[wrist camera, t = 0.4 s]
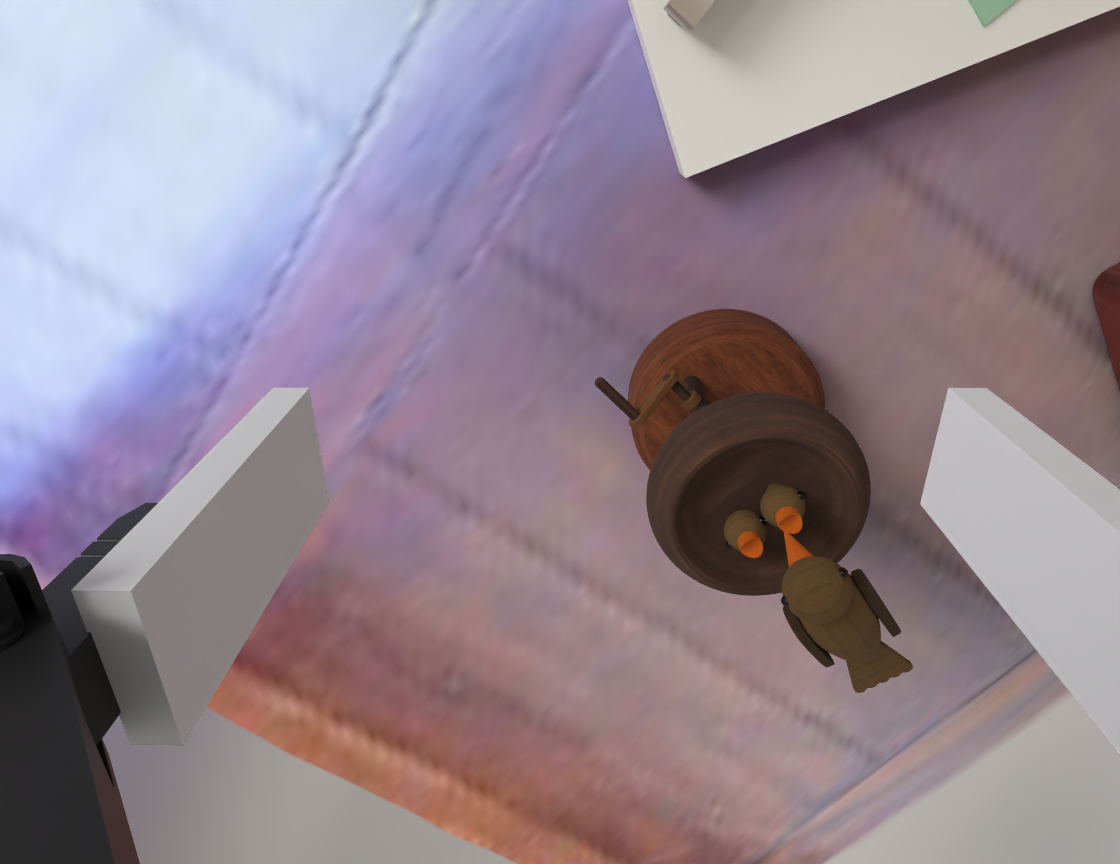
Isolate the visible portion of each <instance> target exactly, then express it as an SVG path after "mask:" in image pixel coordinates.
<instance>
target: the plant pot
mask: <svg viewBox="0 0 1120 864" xmlns="http://www.w3.org/2000/svg"><path fill="white" fill-rule="evenodd" d="M1093 297H1094V301H1095V305H1096V308H1097V312H1098V315H1099V319H1100V322H1101V326H1102V330H1103V333H1104V337H1105V340H1106V344H1107V347H1108V350H1109V354H1110V357H1111V361H1112V364H1113V368H1114V371H1115V375H1116V378H1117V382H1118V385H1119V389H1120V263H1118V264H1116V265H1114V266H1112V267H1110V268H1109V269H1107V270H1105V271H1104V272H1102V273H1101V274H1100V276H1099V277H1098V278H1097V279H1096V281H1095V284H1094V287H1093Z"/></svg>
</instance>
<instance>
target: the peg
mask: <svg viewBox="0 0 1120 864" xmlns="http://www.w3.org/2000/svg"><path fill="white" fill-rule="evenodd" d="M714 2H715V0H669V2H668V3H667V4H666V6H665V7H664V8H663V9H664V10H665V11H666V12H667V13H668V14H669V15H670V16H671V17H672V18H673V19H674V20H675V21H677V22H678V23H679V24H680V25H681V26H682V27H683V28H684V29H685V30H686V31H689V30H691V29H693V28H694V27H695V26H696V25H697V24H698V22H699V21H700V20H701V18H702V17H703V16H704V14H705V13H706V12H707V11H708V9H709V8H710V7H711V5H712V4H713V3H714Z"/></svg>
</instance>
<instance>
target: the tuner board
mask: <svg viewBox="0 0 1120 864" xmlns="http://www.w3.org/2000/svg"><path fill="white" fill-rule="evenodd" d="M627 1H628V5H629V8H630V11H631V14H632V18H633V21H634V24H635V28H636V31H637V34H638V38H639V41H640V44H641V47H642V51H643V54H644V57H645V61H646V64H647V67H648V71H649V74H650V77H651V80H652V84H653V87H654V90H655V94H656V97H657V100H658V104H659V107H660V110H661V113H662V117H663V120H664V123H665V127H666V130H667V133H668V137H669V140H670V143H671V146H672V150H673V153H674V156H675V160H676V163H677V166H678V170H679V173H680V174H681V175H683V176H684V177H685V178H687V177H689V176H692V175H694V174H697V173H700V172H702V171H705V170H707V169H710V168H712V167H715V166H717V165H720V164H722V163H725V162H727V161H730V160H732V159H735V158H737V157H740V156H743V155H745V154H748V153H750V152H753V151H755V150H758V149H760V148H763V147H765V146H768V145H770V144H773V143H775V142H778V141H781V140H783V139H786V138H788V137H791V136H793V135H796V134H798V133H801V132H803V131H806V130H808V129H811V128H813V127H816V126H818V125H821V124H824V123H826V122H829V121H831V120H834V119H836V118H839V117H841V116H844V115H846V114H849V113H851V112H854V111H856V110H859V109H862V108H864V107H867V106H869V105H872V104H874V103H877V102H879V101H882V100H884V99H887V98H889V97H892V96H894V95H897V94H899V93H902V92H905V91H907V90H910V89H912V88H915V87H917V86H920V85H922V84H925V83H927V82H930V81H932V80H935V79H937V78H940V77H943V76H945V75H948V74H950V73H953V72H955V71H958V70H960V69H963V68H965V67H968V66H970V65H973V64H975V63H978V62H980V61H983V60H986V59H988V58H991V57H993V56H996V55H998V54H1001V53H1003V52H1006V51H1008V50H1011V49H1013V48H1016V47H1018V46H1021V45H1024V44H1026V43H1029V42H1031V41H1034V40H1036V39H1039V38H1041V37H1044V36H1046V35H1049V34H1051V33H1054V32H1056V31H1059V30H1062V29H1064V28H1067V27H1069V26H1072V25H1074V24H1077V23H1079V22H1082V21H1084V20H1087V19H1089V18H1092V17H1094V16H1097V15H1099V14H1102V13H1105V12H1107V11H1110V10H1112V9H1115V8H1117V7H1120V0H715V2H714V3H713V4H712V5H711V7H710V8H709V9H708V11H707V12H706V13H705V14H704V16H703V17H702V18H701V20H700V21H699V22H698V24H697V25H696V26H695V27H694V28H693V29H691V30H689V31H686V30H685V29H684V28H683V27H682V26H681V25H680V24H679V23H678V22H677V21H675V20H674V19H673V18H672V17H671V16H670V15H669V14H668V13H667V12H666V11H665V10H664V9H663V8H664V7H665V6H666V4H667V3H668V2H669V0H627Z"/></svg>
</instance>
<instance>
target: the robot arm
mask: <svg viewBox="0 0 1120 864" xmlns="http://www.w3.org/2000/svg"><path fill="white" fill-rule="evenodd" d="M328 503H329V496H328V491H327V485H326V479H325V474H324V468H323V463H322V457H321V451H320V446H319V440H318V434H317V429H316V423H315V417H314V412H313V406H312V400H311V395H310V389H309V388H272V389H271V390H270V391H269V392H268V393H267V394H266V395H265V396H264V397H263V398H262V399H261V400H260V401H259V402H258V403H257V405H256V406H255V407H254V408H253V409H252V410H251V411H250V412H249V413H248V414H247V415H246V416H245V417H244V418H243V419H242V420H241V421H240V422H239V423H238V424H237V425H236V426H235V427H234V428H233V429H232V430H231V431H230V432H229V433H228V434H227V435H226V436H225V437H224V438H223V439H222V440H221V441H220V442H219V443H218V444H217V445H216V446H215V447H214V448H213V449H212V450H211V451H210V452H209V453H208V454H207V455H206V456H205V457H204V458H203V459H202V460H201V461H200V462H199V463H198V464H197V465H196V466H195V467H194V468H193V469H192V470H191V471H190V472H189V473H188V474H187V475H186V476H185V477H184V478H183V479H182V480H181V481H180V482H179V483H178V484H177V485H176V486H175V487H174V488H173V489H172V490H171V491H170V492H169V493H168V494H167V495H166V496H165V497H164V498H163V499H162V500H161V501H160V502H159V503H145V504H143V505H141V506H140V507H138V508H136V509H134V510H133V511H131V512H129V513H127V514H125V515H124V516H122V517H120V518H118V519H117V520H116V521H115V522H114V523H113V524H112V525H111V526H109V527H108V528H107V529H106V530H105V531H104V532H103V533H102V534H101V535H100V536H99V537H98V538H97V542H93V543H92V544H90V545H89V546H88V547H87V548H86V549H85V550H84V551H83V552H82V553H81V557H80V558H76V559H75V560H74V561H73V562H72V563H70V564H69V565H68V566H67V567H66V568H65V569H64V570H63V571H62V572H61V573H60V574H59V575H58V576H57V577H56V578H55V579H54V580H53V581H51V582H50V583H49V584H48V585H47V586H46V587H45V588H44V589H43V590H41V587H40V585H39V582H38V580H37V577H36V575H35V572H34V570H33V568H32V565H31V564H30V563H29V562H28V560H27V559H26V558H25V557H21V556H17V555H12V554H1V555H0V864H140V863H139V859H138V856H137V852H136V849H135V845H134V842H133V838H132V835H131V831H130V828H129V824H128V821H127V817H126V814H125V810H124V807H123V803H122V799H121V796H120V792H119V789H118V785H117V782H116V778H115V775H114V771H113V768H112V765H111V761H110V757H109V754H108V752H107V749H106V747H105V744H104V742H103V740H102V738H103V736H104V735H105V734H106V732H107V731H108V730H109V728H110V727H111V725H112V724H113V723H114V721H115V720H116V718H117V717H118V716H120V718H121V721H122V724H123V726H124V729H125V731H126V734H127V737H128V739H129V741H130V744H131V745H179V746H183V745H184V743H185V742H186V740H187V739H188V737H189V735H190V734H191V732H192V730H193V729H194V727H195V725H196V723H197V722H198V720H199V718H200V717H201V715H202V713H203V712H204V710H205V708H206V707H207V705H208V704H209V702H210V700H211V698H212V697H213V695H214V693H215V692H216V690H217V688H218V687H219V685H220V683H221V682H222V680H223V678H224V677H225V675H226V673H227V672H228V670H229V668H230V667H231V665H232V663H233V662H234V660H235V658H236V657H237V655H238V653H239V652H240V650H241V648H242V647H243V645H244V643H245V642H246V640H247V638H248V637H249V635H250V633H251V632H252V630H253V628H254V626H255V625H256V623H257V621H258V620H259V618H260V616H261V615H262V613H263V611H264V610H265V608H266V606H267V605H268V603H269V601H270V600H271V598H272V596H273V595H274V593H275V591H276V590H277V588H278V586H279V585H280V583H281V581H282V580H283V578H284V576H285V575H286V573H287V571H288V570H289V568H290V566H291V565H292V563H293V561H294V559H295V558H296V556H297V554H298V553H299V551H300V549H301V548H302V546H303V544H304V543H305V541H306V539H307V538H308V536H309V534H310V533H311V531H312V529H313V528H314V526H315V524H316V523H317V521H318V519H319V518H320V516H321V514H322V513H323V511H324V509H325V508H326V506H327V504H328ZM920 504H921V506H922V507H923V508H924V509H925V511H926V512H927V513H928V514H929V516H930V517H931V518H932V519H933V521H934V522H935V523H936V525H937V526H938V527H939V528H940V530H941V531H942V532H943V533H944V535H945V536H946V537H947V538H948V540H949V541H950V542H951V543H952V545H953V546H954V547H955V548H956V550H957V551H958V552H959V553H960V555H961V556H962V557H963V558H964V560H965V561H966V562H967V563H968V565H969V566H970V567H971V568H972V570H973V571H974V572H975V574H976V575H977V576H978V577H979V579H980V580H981V581H982V582H983V584H984V585H985V586H986V587H987V589H988V590H989V591H990V592H991V594H992V595H993V596H994V597H995V599H996V600H997V601H998V602H999V604H1000V605H1001V606H1002V607H1003V609H1004V610H1005V611H1006V612H1007V614H1008V615H1009V616H1010V617H1011V619H1012V620H1013V621H1014V623H1015V624H1016V625H1017V626H1018V628H1019V629H1020V630H1021V631H1022V633H1023V634H1024V635H1025V636H1026V638H1027V639H1028V640H1029V641H1030V643H1031V644H1032V645H1033V646H1034V648H1035V649H1036V650H1037V651H1038V653H1039V654H1040V655H1041V656H1042V658H1043V659H1044V660H1045V661H1046V663H1047V664H1048V665H1049V666H1050V668H1051V669H1052V670H1053V671H1054V673H1055V674H1056V675H1057V677H1058V678H1059V679H1060V680H1061V682H1062V683H1063V684H1064V685H1065V687H1066V688H1067V689H1068V690H1069V692H1070V693H1071V694H1072V695H1073V697H1074V698H1075V699H1076V700H1077V702H1078V703H1079V704H1080V705H1081V707H1082V708H1083V709H1084V710H1085V712H1086V713H1087V714H1088V715H1089V717H1090V718H1091V719H1092V720H1093V722H1094V723H1095V724H1096V725H1097V727H1098V728H1099V729H1100V731H1101V732H1102V733H1103V734H1104V736H1105V737H1106V738H1107V739H1108V740H1109V742H1110V743H1111V744H1112V746H1113V747H1114V748H1115V749H1116V751H1117V752H1118V753H1119V754H1120V489H1118V488H1117V487H1116V486H1114V485H1113V484H1112V483H1110V482H1109V481H1108V480H1106V479H1105V478H1104V477H1103V476H1101V475H1100V474H1099V473H1097V472H1096V471H1095V470H1093V469H1092V468H1091V467H1089V466H1088V465H1087V464H1086V463H1084V462H1083V461H1082V460H1080V459H1079V458H1078V457H1076V456H1075V455H1074V454H1072V453H1071V452H1070V451H1068V450H1067V449H1066V448H1065V447H1063V446H1062V445H1061V444H1059V443H1058V442H1057V441H1055V440H1054V439H1053V438H1051V437H1050V436H1049V435H1048V434H1046V433H1045V432H1044V431H1042V430H1041V429H1040V428H1038V427H1037V426H1036V425H1034V424H1033V423H1032V422H1031V421H1029V420H1028V419H1027V418H1025V417H1024V416H1023V415H1021V414H1020V413H1019V412H1017V411H1016V410H1015V409H1013V408H1012V407H1011V406H1010V405H1008V404H1007V403H1006V402H1004V401H1003V400H1002V399H1000V398H999V397H998V396H996V395H995V394H994V393H993V392H991V391H990V390H989V389H987V388H948V391H947V395H946V400H945V404H944V408H943V412H942V416H941V420H940V424H939V428H938V432H937V437H936V441H935V445H934V449H933V453H932V457H931V461H930V465H929V469H928V473H927V478H926V482H925V486H924V490H923V494H922V498H921V502H920Z"/></svg>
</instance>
